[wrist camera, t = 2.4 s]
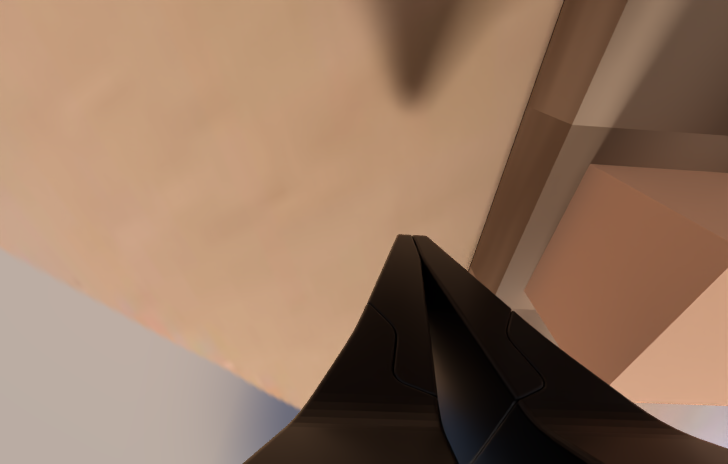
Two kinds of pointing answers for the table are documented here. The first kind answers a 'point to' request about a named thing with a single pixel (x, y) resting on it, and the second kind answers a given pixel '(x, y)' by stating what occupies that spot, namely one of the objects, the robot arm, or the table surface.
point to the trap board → (606, 121)
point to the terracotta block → (642, 282)
